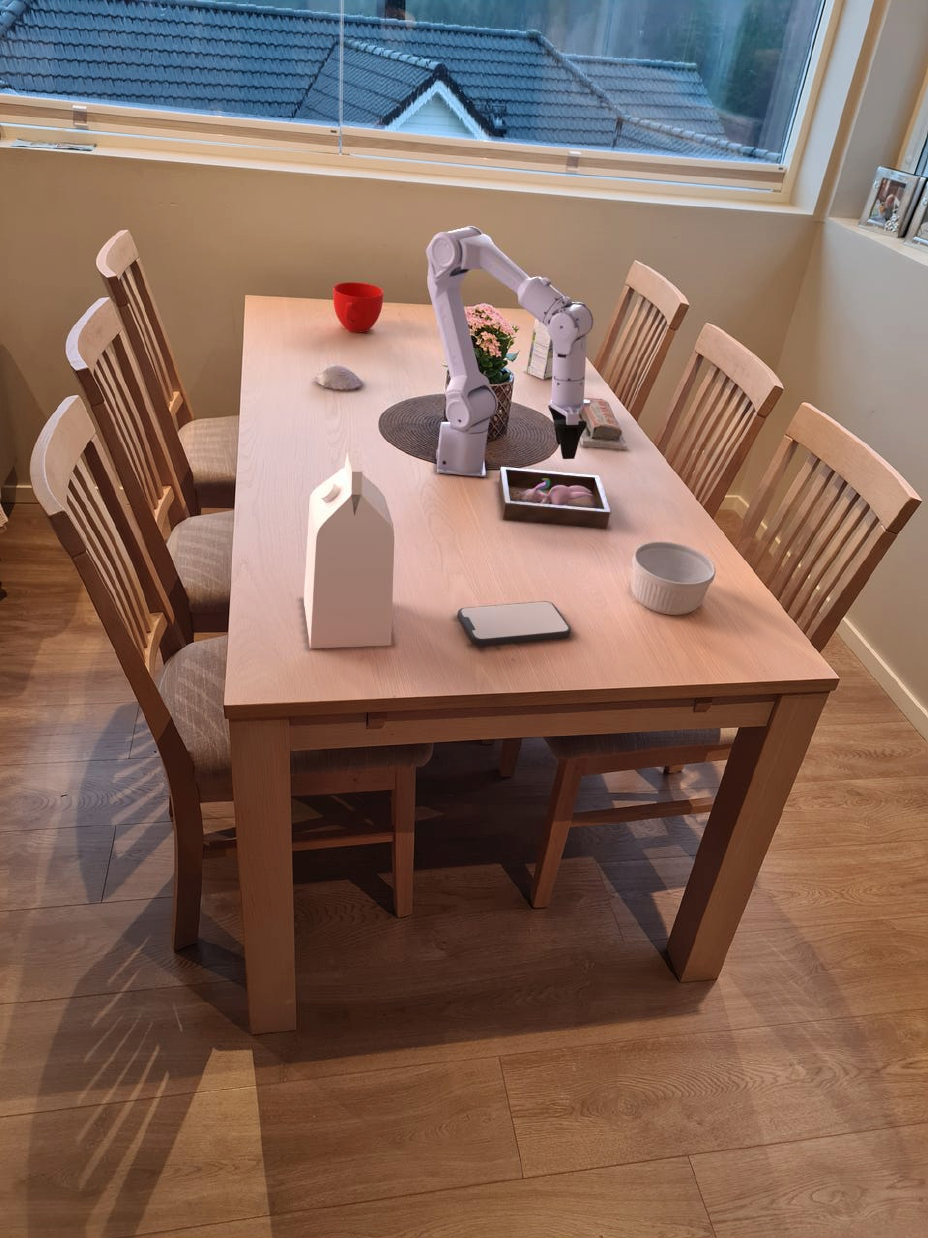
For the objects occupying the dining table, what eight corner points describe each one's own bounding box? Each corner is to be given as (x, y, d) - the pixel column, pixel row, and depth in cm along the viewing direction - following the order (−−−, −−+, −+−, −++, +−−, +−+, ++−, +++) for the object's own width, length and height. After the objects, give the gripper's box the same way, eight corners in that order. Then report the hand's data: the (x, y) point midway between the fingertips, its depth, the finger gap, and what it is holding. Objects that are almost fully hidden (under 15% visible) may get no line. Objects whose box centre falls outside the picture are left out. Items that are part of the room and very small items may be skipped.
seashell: (304, 369, 210) (332, 349, 216) (307, 390, 214) (335, 371, 220) (340, 381, 206) (367, 361, 212) (342, 402, 210) (369, 382, 216)
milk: (391, 645, 135) (404, 482, 120) (310, 648, 132) (314, 482, 117) (379, 598, 144) (390, 442, 130) (303, 600, 142) (306, 441, 127)
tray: (502, 520, 169) (505, 502, 167) (497, 482, 182) (500, 466, 180) (607, 529, 171) (610, 512, 169) (595, 491, 183) (599, 475, 181)
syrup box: (540, 368, 238) (549, 311, 229) (558, 376, 234) (568, 318, 226) (525, 372, 234) (534, 314, 226) (543, 380, 231) (553, 321, 223)
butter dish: (571, 393, 212) (614, 397, 213) (567, 414, 215) (610, 417, 216) (585, 426, 197) (631, 430, 198) (581, 447, 200) (626, 451, 201)
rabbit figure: (515, 517, 173) (595, 510, 174) (515, 489, 170) (596, 481, 171) (510, 501, 179) (588, 494, 179) (510, 473, 175) (589, 466, 176)
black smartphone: (549, 607, 148) (454, 615, 143) (551, 599, 147) (455, 607, 142) (572, 640, 141) (473, 650, 136) (574, 632, 140) (474, 641, 135)
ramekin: (610, 581, 156) (618, 545, 152) (675, 571, 161) (685, 536, 157) (653, 626, 147) (663, 588, 143) (721, 614, 152) (732, 577, 148)
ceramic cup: (321, 335, 239) (322, 296, 233) (339, 317, 253) (340, 279, 247) (371, 344, 238) (373, 304, 233) (386, 324, 252) (388, 287, 246)
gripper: (597, 387, 158) (593, 464, 165) (585, 365, 171) (581, 437, 177) (556, 388, 158) (553, 465, 165) (546, 366, 171) (544, 438, 177)
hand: (565, 451), depth 171 cm, fingers open, 7 cm apart
